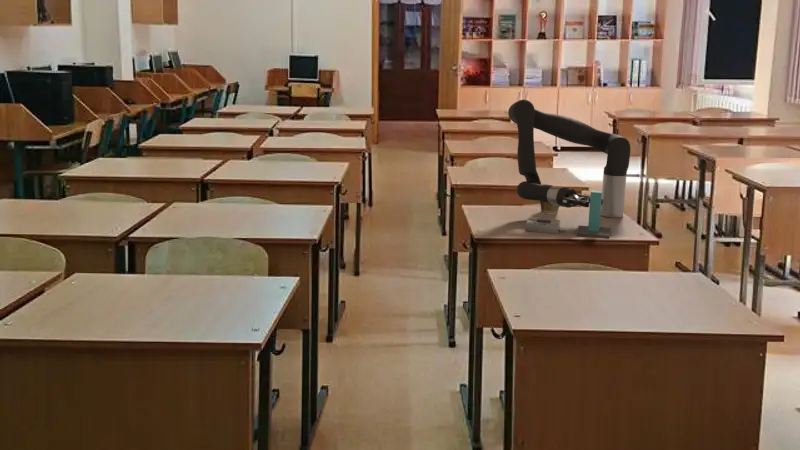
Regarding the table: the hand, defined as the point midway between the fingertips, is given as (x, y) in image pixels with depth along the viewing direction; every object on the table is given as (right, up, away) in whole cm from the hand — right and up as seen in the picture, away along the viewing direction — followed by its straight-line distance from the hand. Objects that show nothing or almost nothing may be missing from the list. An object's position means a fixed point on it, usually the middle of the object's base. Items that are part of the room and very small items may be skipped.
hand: (595, 203), depth 351 cm
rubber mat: (0, -11, +2) cm, 11 cm away
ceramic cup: (-11, -3, +40) cm, 41 cm away
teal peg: (0, -10, +2) cm, 10 cm away
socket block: (-19, -10, +7) cm, 22 cm away
